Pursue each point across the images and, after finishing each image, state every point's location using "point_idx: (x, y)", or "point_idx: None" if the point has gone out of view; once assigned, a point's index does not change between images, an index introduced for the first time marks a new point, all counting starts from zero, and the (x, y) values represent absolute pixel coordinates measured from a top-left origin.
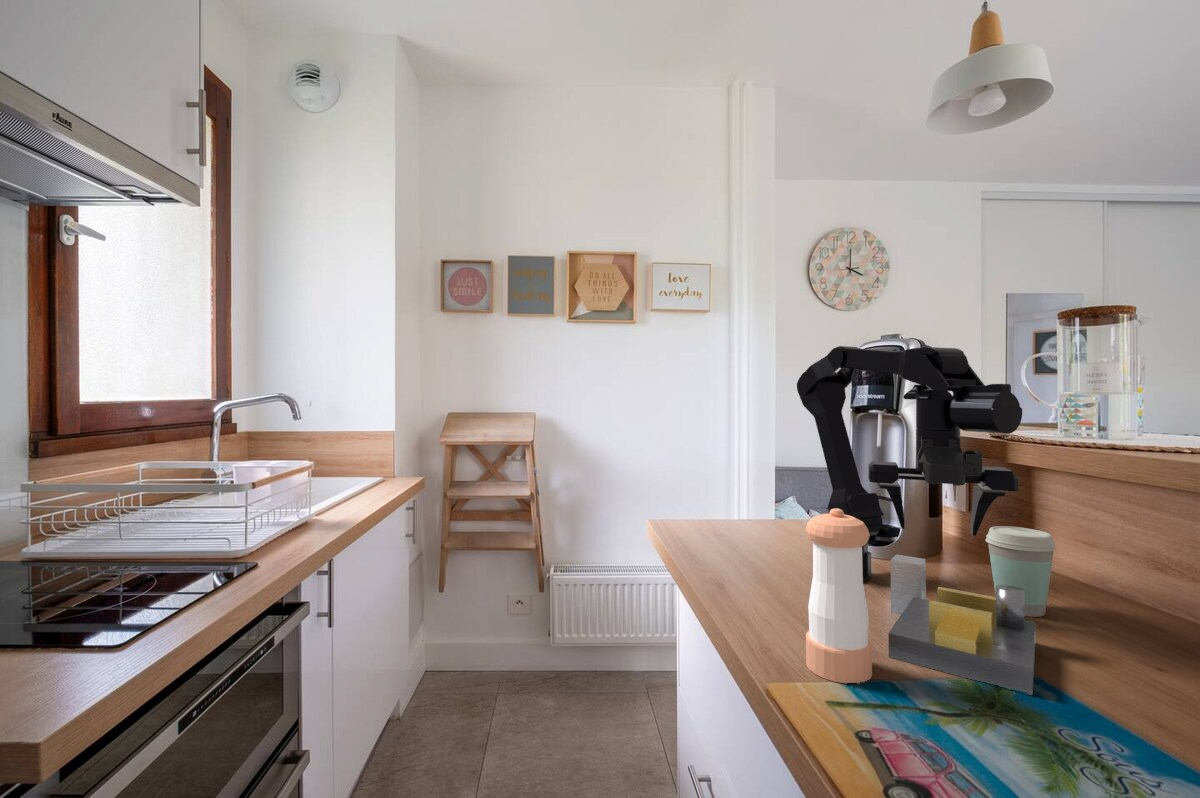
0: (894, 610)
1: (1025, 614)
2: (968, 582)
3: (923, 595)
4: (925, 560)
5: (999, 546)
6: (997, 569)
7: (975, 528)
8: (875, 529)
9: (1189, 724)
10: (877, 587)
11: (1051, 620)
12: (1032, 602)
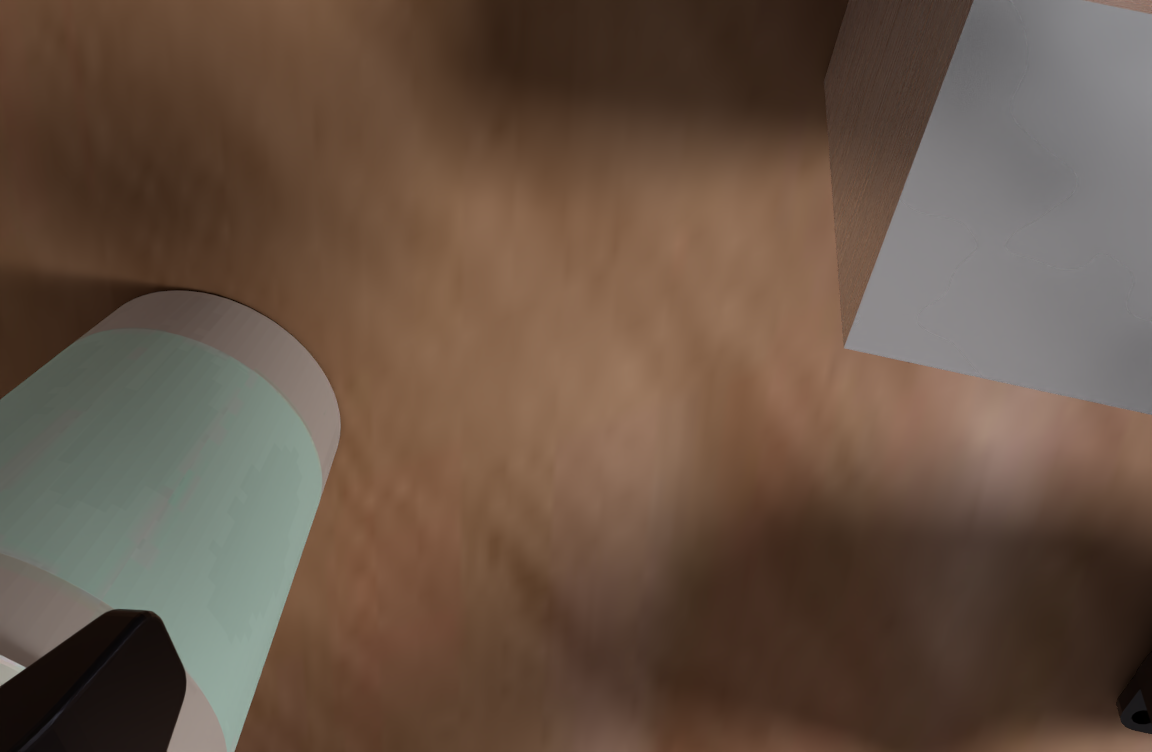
0: None
1: (175, 295)
2: (495, 731)
3: (873, 20)
4: (843, 337)
5: None
6: (207, 543)
7: (44, 690)
8: None
9: None
10: (1127, 486)
11: (52, 280)
12: (89, 340)
